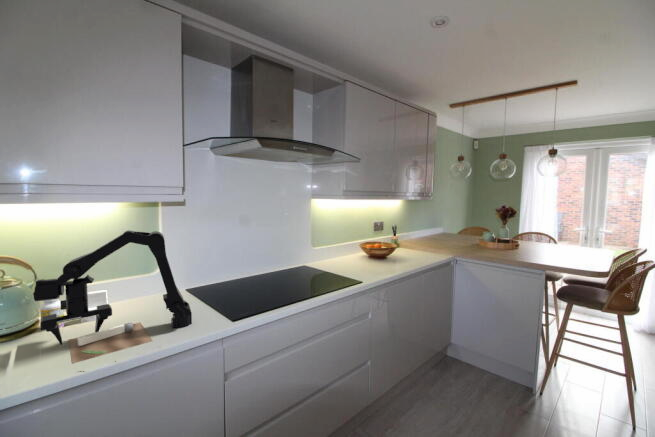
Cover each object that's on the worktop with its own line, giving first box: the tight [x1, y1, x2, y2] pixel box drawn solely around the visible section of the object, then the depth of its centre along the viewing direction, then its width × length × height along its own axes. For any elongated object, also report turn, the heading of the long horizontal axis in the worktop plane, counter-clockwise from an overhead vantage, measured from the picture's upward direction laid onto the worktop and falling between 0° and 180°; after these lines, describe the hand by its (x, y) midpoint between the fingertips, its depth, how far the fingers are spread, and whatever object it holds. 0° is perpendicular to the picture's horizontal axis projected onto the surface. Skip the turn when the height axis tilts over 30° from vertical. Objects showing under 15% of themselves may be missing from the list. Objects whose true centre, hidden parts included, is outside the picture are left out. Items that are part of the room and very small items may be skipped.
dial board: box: [68, 321, 153, 365], centre depth 108 cm, size 22×20×2 cm
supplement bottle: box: [39, 298, 65, 332], centre depth 118 cm, size 7×7×13 cm
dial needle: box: [76, 322, 134, 346], centre depth 109 cm, size 16×3×3 cm, turn 141°
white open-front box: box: [80, 289, 109, 324], centre depth 127 cm, size 9×9×12 cm
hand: (79, 339), depth 105 cm, fingers open, 9 cm apart
